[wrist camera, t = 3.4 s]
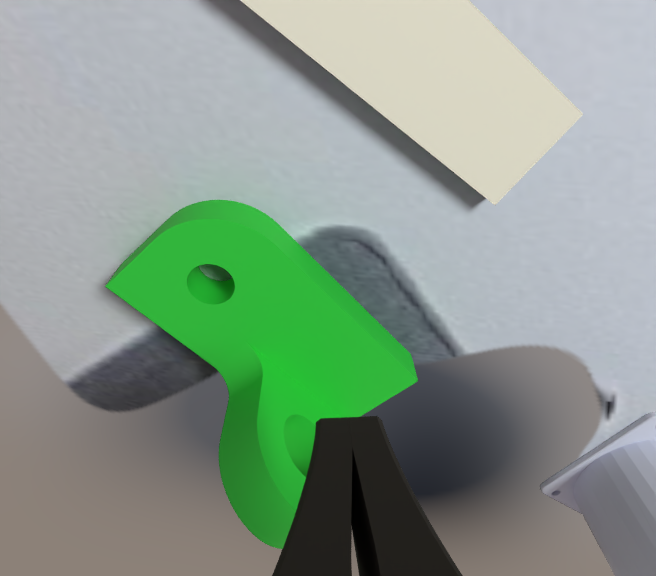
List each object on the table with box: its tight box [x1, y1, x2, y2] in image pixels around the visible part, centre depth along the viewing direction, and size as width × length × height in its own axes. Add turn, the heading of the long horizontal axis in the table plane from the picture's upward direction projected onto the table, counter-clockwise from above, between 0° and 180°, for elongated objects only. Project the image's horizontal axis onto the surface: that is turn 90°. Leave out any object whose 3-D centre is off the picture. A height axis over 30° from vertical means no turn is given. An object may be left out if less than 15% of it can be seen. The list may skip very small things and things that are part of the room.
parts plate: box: [240, 0, 583, 205], centre depth 15 cm, size 12×4×1 cm, turn 54°
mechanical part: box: [105, 200, 418, 549], centre depth 17 cm, size 12×6×8 cm, turn 41°
